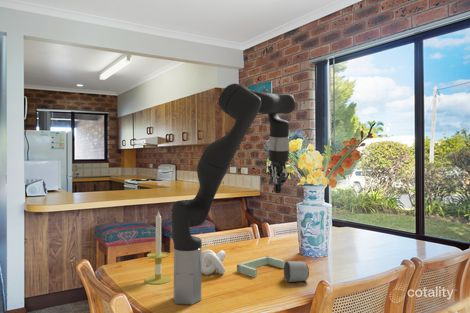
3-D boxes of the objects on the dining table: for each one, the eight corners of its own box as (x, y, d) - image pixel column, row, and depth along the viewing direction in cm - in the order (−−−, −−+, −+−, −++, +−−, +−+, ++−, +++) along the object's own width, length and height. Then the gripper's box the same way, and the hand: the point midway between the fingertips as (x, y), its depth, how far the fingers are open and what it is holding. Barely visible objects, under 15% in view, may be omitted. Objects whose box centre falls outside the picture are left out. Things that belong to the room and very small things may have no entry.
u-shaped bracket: (284, 267, 157) (284, 260, 157) (254, 277, 144) (254, 269, 144) (267, 262, 164) (267, 256, 164) (236, 271, 151) (236, 264, 151)
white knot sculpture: (233, 275, 147) (233, 252, 147) (206, 279, 141) (206, 256, 141) (220, 267, 157) (220, 246, 157) (195, 271, 151) (195, 250, 151)
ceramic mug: (310, 283, 138) (310, 262, 138) (290, 284, 136) (290, 264, 136) (298, 274, 148) (298, 255, 148) (279, 276, 146) (279, 257, 146)
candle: (154, 274, 147) (154, 207, 147) (176, 277, 143) (176, 209, 143) (139, 282, 137) (139, 211, 137) (162, 285, 134) (162, 212, 134)
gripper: (297, 150, 131) (295, 196, 134) (279, 144, 143) (277, 186, 146) (278, 152, 128) (277, 199, 131) (261, 145, 140) (260, 188, 143)
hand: (277, 192), depth 139 cm, fingers closed
